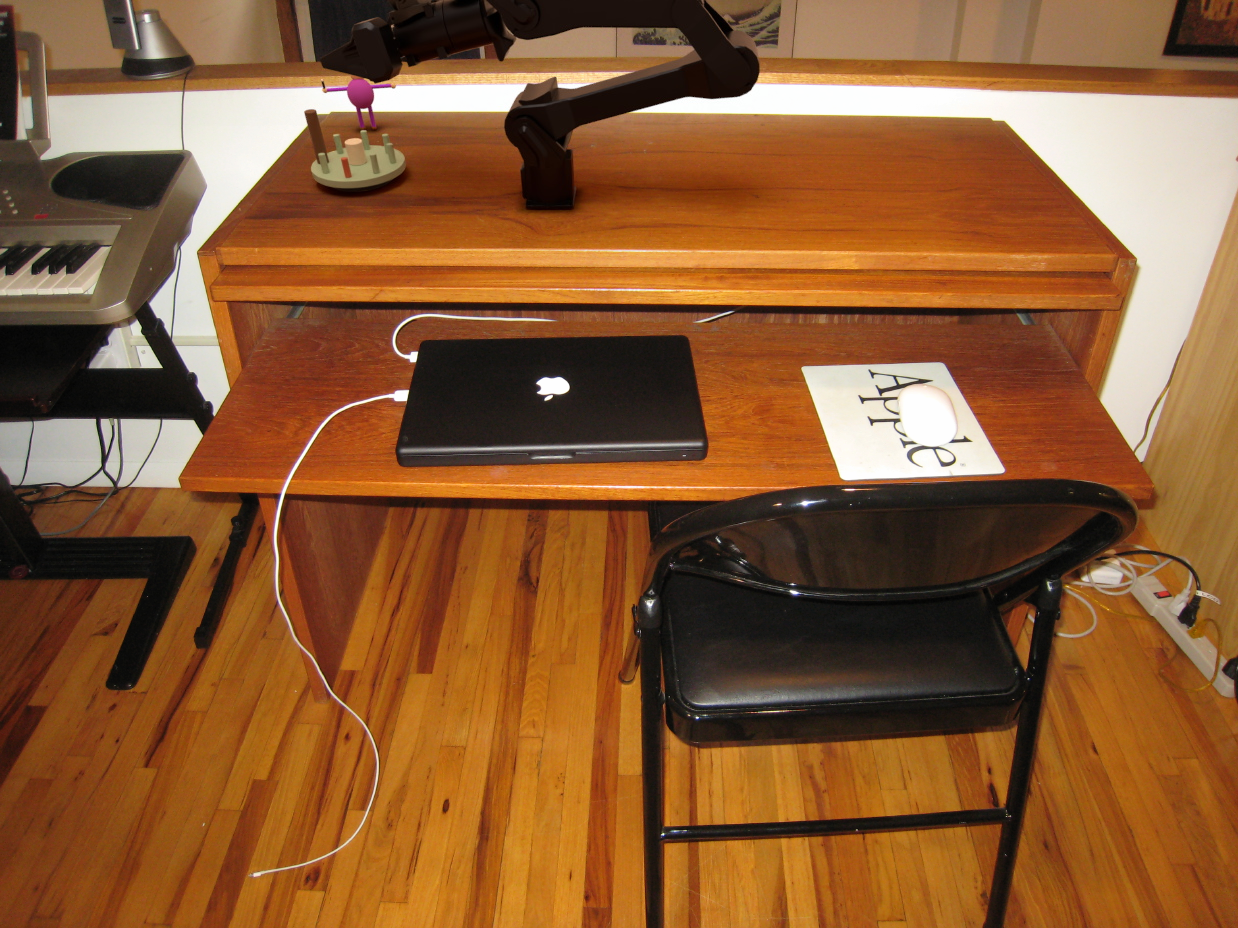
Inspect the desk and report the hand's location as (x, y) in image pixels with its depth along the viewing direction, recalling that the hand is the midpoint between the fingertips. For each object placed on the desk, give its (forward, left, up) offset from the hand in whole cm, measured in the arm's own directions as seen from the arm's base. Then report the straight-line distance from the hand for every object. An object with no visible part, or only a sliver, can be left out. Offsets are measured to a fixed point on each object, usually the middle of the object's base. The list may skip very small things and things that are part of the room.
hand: (336, 56), depth 101 cm
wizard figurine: (+6, -25, -18) cm, 31 cm away
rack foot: (+2, -6, -18) cm, 19 cm away
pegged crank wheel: (+2, -6, -16) cm, 18 cm away
